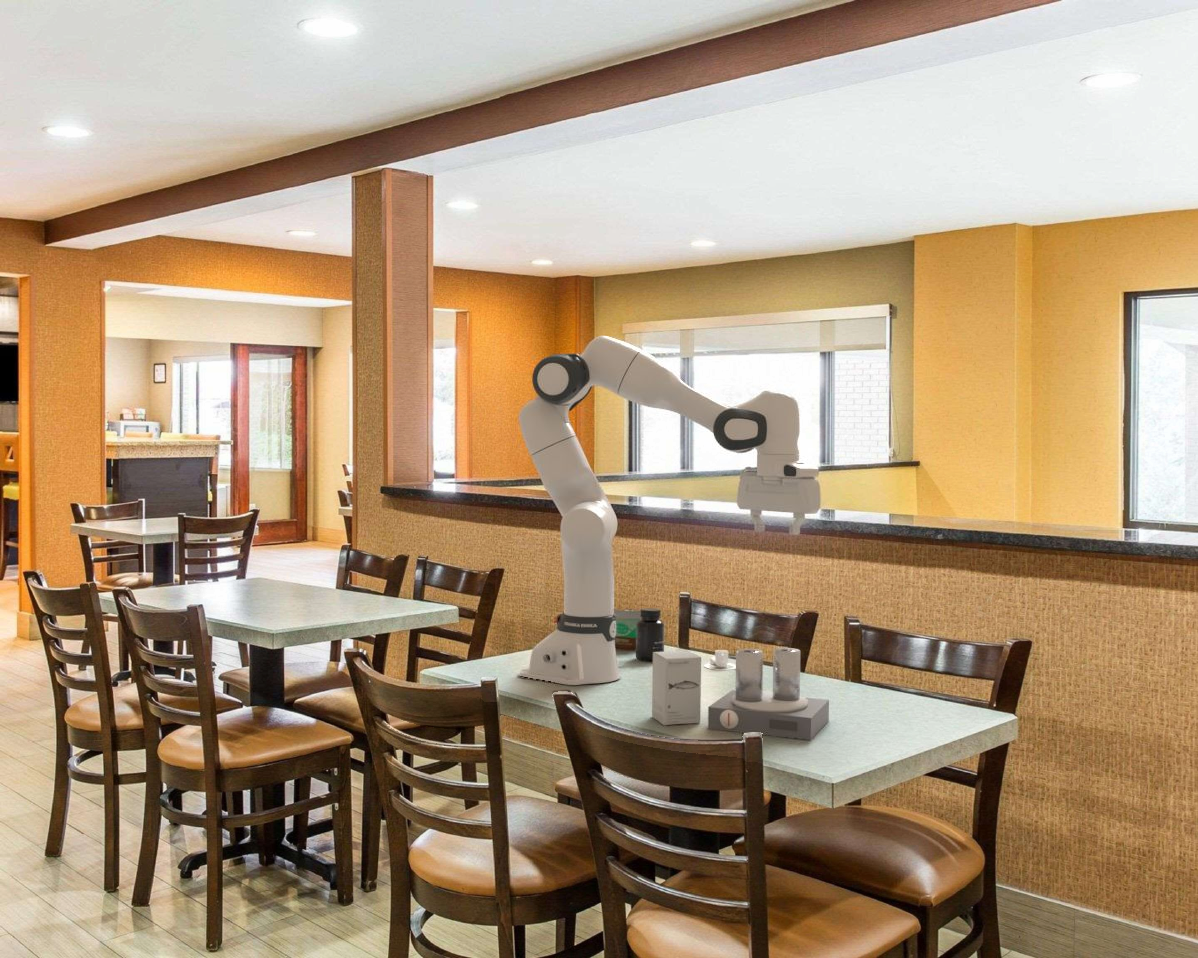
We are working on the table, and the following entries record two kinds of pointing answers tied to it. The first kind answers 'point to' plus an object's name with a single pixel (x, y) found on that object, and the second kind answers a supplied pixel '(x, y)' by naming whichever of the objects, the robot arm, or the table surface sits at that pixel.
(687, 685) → the supplement box
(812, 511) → the robot arm
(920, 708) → the table surface
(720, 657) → the teacup and saucer
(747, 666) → the cylinder
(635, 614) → the food container
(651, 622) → the supplement bottle
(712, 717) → the dial scale
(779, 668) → the cylinder
